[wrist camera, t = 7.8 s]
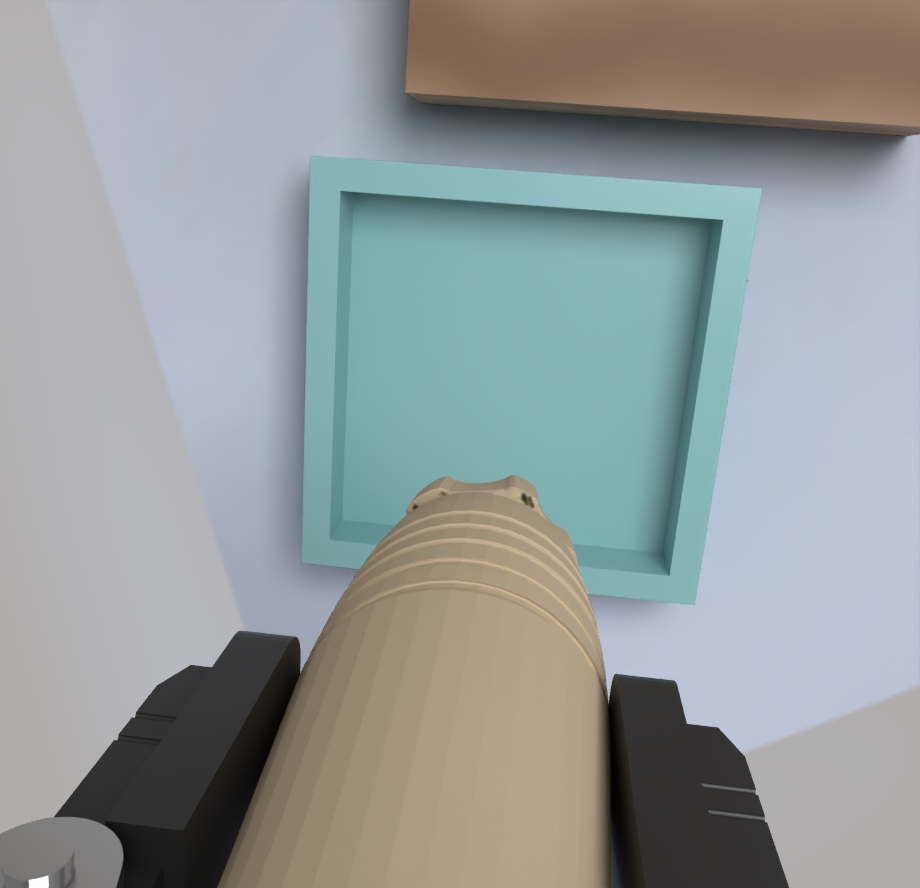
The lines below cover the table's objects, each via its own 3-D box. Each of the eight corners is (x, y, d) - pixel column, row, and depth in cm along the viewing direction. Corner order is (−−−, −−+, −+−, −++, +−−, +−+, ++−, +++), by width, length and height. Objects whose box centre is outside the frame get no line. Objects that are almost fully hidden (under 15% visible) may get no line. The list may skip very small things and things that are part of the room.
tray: (332, 158, 31) (310, 155, 28) (741, 188, 30) (762, 188, 27) (322, 531, 35) (301, 562, 32) (682, 569, 34) (694, 605, 31)
